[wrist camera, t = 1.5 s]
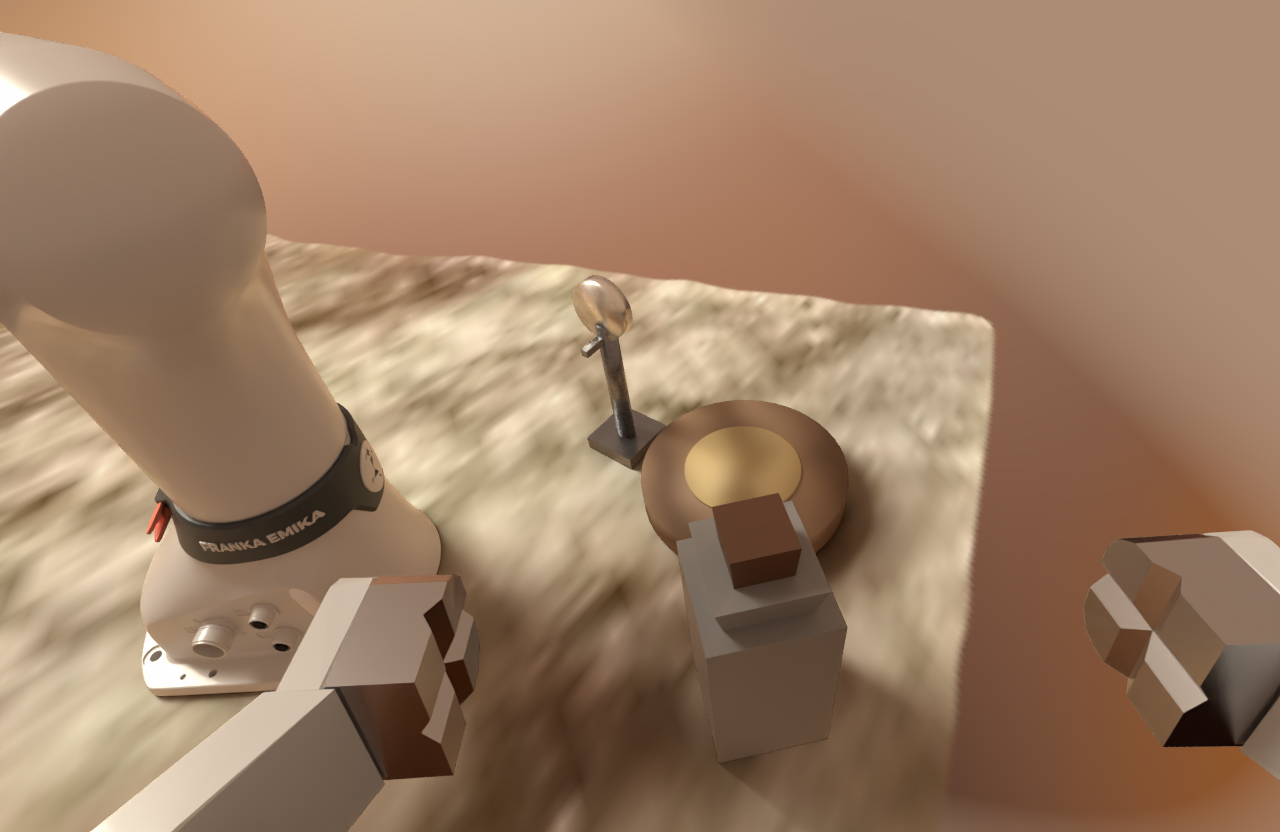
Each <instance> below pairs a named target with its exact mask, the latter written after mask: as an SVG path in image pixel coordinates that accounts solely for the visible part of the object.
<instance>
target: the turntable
mask: <svg viewBox="0 0 1280 832" xmlns="http://www.w3.org/2000/svg"><path fill="white" fill-rule="evenodd" d="M641 485H642V491H643V496H644V502H645V507H646V512H647V515H648V518H649V521H650V523H651V525H652V526H653V528H654V530H655V532H656V533H657V534H658V536H659V537H660V538H661V540H662V541H663V542H664V543H665V544H666V545H667V546H668V547H669V548H670V549H672V550H673V551H674V552H676V553H677V554H678V550H677V543H676V541H679V540H683V539H688V538H692V535H691V532H690V528H689V524H688V523H690V522H694V521H699V520H704V519H708V518H713V517H714V515H713V510H712V507H714V506H719V505H723V504H728V503H733V502H737V501H742V500H747V499H752V498H756V497H761V496H766V495H770V494H775V493H779V495H780V497H781V499H782V502H787V501H792V502H793V505H794V507H795V509H796V511H797V514H798V515H799V517H800V519H801V522H802V524H803V526H804V529H805V531H806V533H807V535H808V538H809V540H810V542H811V545H812V547H813V549H814V552H815V553H816V552H817V551H818V550H820V549H821V548H822V547H823V546H824V545H825V544H826V543H827V542H828V541H829V540H830V539H831V538H832V536H833V534H834V533H835V531H836V530H837V528H838V526H839V524H840V522H841V520H842V517H843V513H844V509H845V504H846V496H847V489H848V468H847V464H846V460H845V457H844V455H843V452H842V450H841V448H840V446H839V445H838V444H837V442H836V441H835V439H834V438H833V437H832V436H831V435H830V433H829V432H828V431H827V430H826V429H825V428H823V427H822V426H821V425H820V424H819V423H817V422H816V421H814V420H813V419H811V418H810V417H808V416H806V415H804V414H802V413H800V412H798V411H796V410H794V409H791V408H788V407H786V406H782V405H778V404H775V403H769V402H764V401H754V400H736V401H725V402H720V403H714V404H711V405H707V406H703V407H701V408H698V409H695V410H693V411H691V412H689V413H687V414H685V415H683V416H681V417H679V418H678V419H676V420H675V421H673V422H672V423H671V424H669V425H668V426H667V427H666V428H664V429H663V430H662V431H661V433H660V434H659V435H658V436H657V437H656V438H655V440H654V441H653V442H652V444H651V445H650V447H649V449H648V451H647V453H646V455H645V458H644V461H643V465H642V470H641Z"/></svg>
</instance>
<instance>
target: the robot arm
mask: <svg viewBox="0 0 1280 832" xmlns="http://www.w3.org/2000/svg"><path fill="white" fill-rule="evenodd" d="M266 235H267V217H266V209H265V202H264V198H263V194H262V191H261V188H260V185H259V182H258V180H257V177H256V175H255V173H254V171H253V169H252V167H251V166H250V164H249V162H248V160H247V159H246V158H245V156H244V154H243V153H242V151H241V150H240V149H239V147H238V146H237V145H236V144H235V142H234V141H233V140H232V139H231V138H230V137H229V136H228V135H227V134H226V133H225V132H224V131H223V130H222V129H221V128H220V127H219V126H218V125H217V124H216V123H215V122H214V121H212V120H211V119H210V118H209V117H208V116H207V115H206V114H205V113H204V112H203V111H202V110H200V109H199V108H198V107H197V106H196V105H195V104H193V103H192V102H191V101H190V100H188V99H187V98H185V97H184V96H183V95H181V94H180V93H178V92H177V91H176V90H174V89H173V88H172V87H171V86H169V85H168V84H166V82H164V81H163V80H161V79H160V78H158V77H156V76H155V75H153V74H151V73H149V72H148V71H147V70H145V69H143V68H141V67H139V66H137V65H134V64H132V63H130V62H128V61H126V60H124V59H121V58H119V57H115V56H113V55H110V54H107V53H105V52H101V51H98V50H94V49H89V48H85V47H80V46H75V45H69V44H65V43H59V42H55V41H50V40H45V39H40V38H35V37H30V36H25V35H20V34H8V33H4V32H0V331H1V330H2V329H3V328H4V327H6V328H7V329H8V330H9V331H10V332H11V333H12V334H13V335H14V336H15V337H16V338H17V339H18V340H19V341H20V342H21V344H22V345H23V346H24V347H25V348H26V349H27V350H28V351H29V352H30V353H31V354H32V355H33V356H34V357H35V358H36V359H37V360H38V361H39V362H40V363H41V364H42V365H43V367H44V368H45V369H46V370H47V371H48V372H49V373H50V374H51V375H52V376H53V377H54V378H55V379H56V380H57V381H58V382H59V383H60V384H61V385H62V387H63V388H64V389H65V390H66V391H67V392H68V393H69V394H70V395H71V396H72V397H73V398H74V399H75V400H76V401H77V402H78V403H79V404H80V405H81V407H82V408H83V409H84V410H85V411H86V412H87V413H88V414H89V415H90V416H91V417H92V419H93V420H94V421H95V422H96V423H97V424H98V425H99V426H100V427H101V428H102V429H103V430H104V431H105V432H106V433H107V434H108V435H109V436H110V437H111V438H112V439H113V440H114V441H115V442H116V443H117V444H118V445H119V447H120V448H121V449H122V450H123V451H124V452H125V453H126V454H127V455H128V456H129V457H130V458H131V459H132V460H133V461H134V462H135V463H136V464H137V465H138V466H139V467H140V468H141V469H142V470H143V471H144V472H145V473H146V474H147V476H148V477H149V478H150V479H151V480H152V481H153V482H154V483H155V484H156V485H157V486H158V487H159V490H158V492H157V495H156V497H155V501H156V503H157V504H158V505H157V507H156V509H155V511H154V513H153V516H152V518H151V520H150V522H149V526H148V529H147V534H151V533H152V531H153V530H154V528H155V542H160V540H161V539H162V537H163V534H164V532H165V530H166V527H167V525H168V523H169V520H170V518H172V519H173V521H174V524H173V526H172V527H171V528H170V529H169V531H168V532H167V534H166V535H165V537H164V539H163V540H162V542H161V544H160V546H159V548H158V549H157V551H156V553H155V556H154V558H153V560H152V562H151V565H150V567H149V570H148V572H147V575H146V578H145V582H144V585H143V590H142V594H141V603H140V613H141V618H142V622H143V624H144V626H145V629H146V630H147V633H146V636H145V640H144V645H143V651H142V662H141V666H142V675H143V679H144V682H145V685H146V687H147V688H148V689H149V690H150V691H151V692H152V693H153V694H154V695H156V696H176V695H195V694H214V693H233V692H252V691H271V690H276V691H271V692H263V693H262V694H260V695H259V696H258V697H257V698H255V699H254V700H253V701H252V702H251V703H249V704H248V705H247V706H246V707H244V708H243V709H242V710H241V711H239V712H238V713H237V714H236V715H234V716H233V717H232V718H231V719H229V720H228V721H227V722H226V723H225V724H223V725H222V726H221V727H220V728H218V729H217V730H216V731H215V732H213V733H212V734H211V735H210V736H208V737H207V738H206V739H205V740H203V741H202V742H201V743H200V744H198V745H197V746H196V747H195V748H194V749H192V750H191V751H190V752H189V753H187V754H186V755H185V756H184V757H182V758H181V759H180V760H179V761H177V762H176V763H175V764H174V765H172V766H171V767H170V768H169V769H168V770H166V771H165V772H164V773H163V774H161V775H160V776H159V777H158V778H156V779H155V780H154V781H153V782H151V783H150V784H149V785H148V786H146V787H145V788H144V789H143V790H141V791H140V792H139V793H138V794H137V795H135V796H134V797H133V798H132V799H130V800H129V801H128V802H127V803H125V804H124V805H123V806H122V807H120V808H119V809H118V810H117V811H115V812H114V813H113V814H112V815H111V816H109V817H108V818H107V819H106V820H104V821H103V822H102V823H101V824H99V825H98V826H97V827H96V828H94V829H93V830H92V831H91V832H347V831H348V830H349V829H350V827H351V826H352V825H353V824H354V822H355V821H356V820H357V819H358V817H359V816H360V815H361V814H362V812H363V811H364V810H365V809H366V807H367V806H368V805H369V804H370V802H371V801H372V800H373V799H374V798H375V796H376V795H377V794H378V793H379V791H380V790H381V789H382V788H383V786H384V785H385V783H384V781H383V780H393V779H408V778H422V777H437V776H451V775H454V772H455V768H456V763H457V759H458V755H459V751H460V747H461V743H462V739H463V735H464V730H465V726H466V722H465V719H464V716H463V713H462V710H461V708H460V705H461V704H462V703H463V702H464V701H465V700H466V699H467V698H468V696H469V695H470V694H471V693H472V692H473V691H474V688H475V683H476V679H477V674H478V668H479V651H480V645H479V637H478V630H477V626H476V623H475V620H474V617H472V616H471V615H470V614H468V613H467V612H465V611H464V610H463V605H464V601H465V598H466V592H465V589H464V586H463V583H462V581H461V578H460V576H457V575H454V574H452V575H436V574H437V571H438V568H439V564H440V558H441V543H440V537H439V534H438V531H437V529H436V527H435V525H434V524H433V522H432V521H431V520H430V519H429V518H428V517H427V516H426V515H425V514H424V513H422V512H421V511H419V510H418V509H417V508H415V507H414V506H413V505H411V504H410V503H409V502H408V501H407V500H406V499H405V498H404V497H403V496H402V495H401V494H400V493H399V492H398V491H397V490H396V489H395V487H394V486H393V485H392V484H391V483H390V482H389V480H388V479H387V478H386V477H385V476H384V473H383V469H382V467H381V465H380V462H379V460H378V458H377V456H376V454H375V452H374V450H373V448H372V446H371V445H370V443H369V442H368V441H367V440H366V438H365V436H364V435H363V433H362V431H361V430H360V428H359V427H358V425H357V424H356V422H355V421H354V419H353V418H352V416H351V415H350V413H349V412H348V410H346V409H345V408H344V407H343V406H342V405H340V404H339V403H337V402H336V401H335V400H334V398H333V396H332V395H331V393H330V392H329V390H328V388H327V386H326V385H325V383H324V381H323V380H322V378H321V376H320V375H319V373H318V371H317V370H316V368H315V366H314V364H313V363H312V361H311V359H310V358H309V356H308V354H307V353H306V351H305V349H304V347H303V346H302V344H301V342H300V341H299V339H298V337H297V335H296V333H295V331H294V330H293V328H292V325H291V323H290V321H289V319H288V317H287V314H286V312H285V309H284V307H283V304H282V301H281V298H280V295H279V293H278V290H277V287H276V284H275V280H274V277H273V274H272V271H271V268H270V265H269V262H268V259H267V256H266V253H265V250H264V248H265V243H266ZM1101 562H1102V564H1103V565H1104V567H1105V569H1106V570H1107V572H1108V574H1107V575H1106V576H1104V577H1103V578H1101V579H1100V580H1099V581H1097V582H1096V583H1095V584H1093V585H1092V586H1091V587H1090V589H1089V592H1088V595H1087V598H1086V601H1085V603H1084V615H1085V626H1086V629H1087V632H1088V634H1089V637H1090V639H1091V642H1092V644H1093V646H1094V647H1095V649H1096V650H1097V652H1098V653H1099V655H1100V656H1101V658H1102V660H1103V661H1104V662H1105V663H1106V664H1108V665H1109V666H1111V667H1112V668H1114V669H1115V670H1117V671H1119V672H1120V673H1122V674H1123V675H1125V676H1126V677H1128V686H1127V696H1128V698H1129V699H1130V701H1131V702H1132V704H1133V705H1134V707H1135V708H1136V709H1137V711H1138V712H1139V714H1140V715H1141V717H1142V718H1143V720H1144V721H1145V723H1146V724H1147V725H1148V727H1149V728H1150V730H1151V731H1152V733H1153V734H1154V736H1155V737H1156V739H1157V740H1158V741H1159V743H1160V744H1161V746H1162V747H1219V746H1242V748H1241V749H1240V751H1242V752H1243V753H1244V754H1246V755H1247V756H1248V757H1250V758H1251V759H1252V760H1254V761H1255V762H1256V763H1258V764H1259V765H1260V766H1262V767H1263V768H1264V769H1266V770H1267V771H1268V772H1270V773H1271V774H1272V775H1274V776H1275V777H1276V778H1278V779H1279V780H1280V548H1279V547H1278V546H1277V545H1275V544H1274V543H1273V542H1272V541H1271V540H1270V539H1268V538H1267V537H1265V536H1263V535H1260V534H1258V533H1256V532H1254V531H1251V530H1250V531H1234V532H1217V533H1205V534H1183V535H1168V536H1153V537H1136V538H1120V539H1117V540H1116V541H1115V542H1113V543H1112V544H1111V545H1109V546H1108V547H1107V549H1106V552H1105V554H1104V556H1103V558H1102V560H1101Z"/></svg>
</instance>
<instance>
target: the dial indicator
mask: <svg viewBox="0 0 1280 832" xmlns="http://www.w3.org/2000/svg"><path fill="white" fill-rule="evenodd" d="M572 300H573V305H574V308H575V311H576V313H577V315H578V317H579V318H580V320H581V321H582V323H583V324H584V325H585V326H586V327H587V329H589V330H590V331H591V332H592V333H593V334H594V335H596V336H597V337H596V338H594V339H593V340H592V341H591V342H589V343H588V344H587V345H586V346H584V347H583V348H582V349H581V353H582V356H584V357H587V358H589V357H590V356H591V355H592V354H593V353H595V352H596V351H597V350H598V349H599V348H600V352H601V357H602V362H603V366H604V371H605V376H606V380H607V385H608V390H609V395H610V399H611V404H612V409H613V415H612V416H611V417H610V418H609V419H607V420H606V421H605V422H604V423H603V424H602V425H601V426H600V427H599V428H598V429H596V430H595V431H594V432H593V433H592V434H591V435H590V436H589V437H588V441H589V445H590V447H591V448H593V449H595V450H597V451H599V452H600V453H602V454H604V455H606V456H608V457H610V458H612V459H613V460H615V461H617V462H619V463H621V464H623V465H625V466H627V467H628V468H630V469H633V468H634V467H635V466H636V465H637V464H638V463H639V462H640V461H641V460H642V459H643V458H644V457H645V455H646V453H647V451H648V449H649V447H650V445H651V444H652V442H653V441H654V440H655V438H656V437H657V436H658V435H659V434H660V433H661V431H662V430H663V429H664V428H666V426H665V425H664V424H662V423H660V422H658V421H656V420H653V419H651V418H649V417H647V416H645V415H643V414H641V413H639V412H637V411H634V410H632V409H631V405H630V399H629V394H628V388H627V383H626V378H625V372H624V367H623V361H622V356H621V350H620V345H619V340H618V338H619V337H620V336H622V335H623V334H624V333H625V332H626V331H628V330H629V329H630V327H631V325H632V319H633V317H632V311H631V308H630V305H629V303H628V301H627V299H626V297H625V296H624V294H623V293H622V292H621V290H620V289H619V288H618V287H617V286H616V285H615V284H614V283H612V282H611V281H610V280H608V279H606V278H604V277H602V276H598V275H592V276H589V277H588V278H586V279H585V280H584V281H582V282H581V283H579V284H578V285H577V286H576V287H575V288H574V290H573V294H572Z"/></svg>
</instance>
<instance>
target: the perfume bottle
mask: <svg viewBox="0 0 1280 832" xmlns="http://www.w3.org/2000/svg"><path fill="white" fill-rule="evenodd" d="M712 510H713V515H714V517H713V518H708V519H704V520H699V521H694V522H690V523H688V524H689V528H690V532H691V535H692V538H688V539H683V540H679V541H676V543H677V550H678V557H679V563H680V570H681V577H682V583H683V590H684V597H685V604H686V610H687V617H688V624H689V630H690V637H691V644H692V650H693V657H694V662H695V666H696V670H697V674H698V679H699V683H700V687H701V691H702V695H703V699H704V704H705V708H706V712H707V716H708V720H709V724H710V729H711V733H712V737H713V741H714V745H715V749H716V754H717V758H718V762H719V763H723V762H727V761H731V760H736V759H740V758H744V757H749V756H753V755H758V754H762V753H766V752H771V751H775V750H780V749H784V748H788V747H793V746H797V745H802V744H806V743H810V742H815V741H819V740H823V739H828V734H829V728H830V722H831V717H832V711H833V706H834V700H835V694H836V689H837V683H838V677H839V672H840V666H841V661H842V655H843V649H844V644H845V638H846V633H847V625H846V623H845V620H844V618H843V616H842V613H841V611H840V609H839V607H838V604H837V602H836V600H835V597H834V595H833V593H832V590H831V588H830V586H829V584H828V581H827V579H826V577H825V574H824V572H823V570H822V568H821V565H820V563H819V561H818V558H817V556H816V554H815V552H814V549H813V547H812V545H811V542H810V540H809V538H808V535H807V533H806V531H805V529H804V526H803V524H802V522H801V519H800V517H799V515H798V514H797V511H796V509H795V507H794V505H793V502H792V501H787V502H782V499H781V497H780V495H779V493H775V494H770V495H766V496H761V497H756V498H752V499H747V500H742V501H737V502H733V503H728V504H723V505H719V506H714V507H712Z"/></svg>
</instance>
